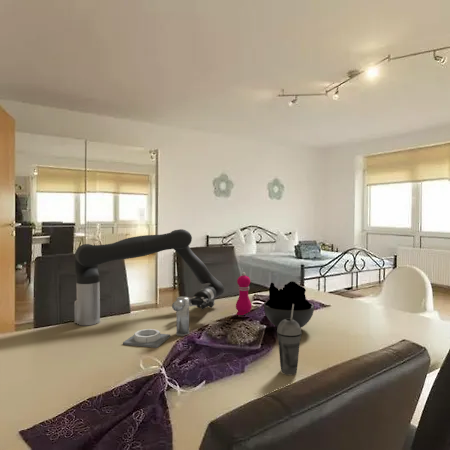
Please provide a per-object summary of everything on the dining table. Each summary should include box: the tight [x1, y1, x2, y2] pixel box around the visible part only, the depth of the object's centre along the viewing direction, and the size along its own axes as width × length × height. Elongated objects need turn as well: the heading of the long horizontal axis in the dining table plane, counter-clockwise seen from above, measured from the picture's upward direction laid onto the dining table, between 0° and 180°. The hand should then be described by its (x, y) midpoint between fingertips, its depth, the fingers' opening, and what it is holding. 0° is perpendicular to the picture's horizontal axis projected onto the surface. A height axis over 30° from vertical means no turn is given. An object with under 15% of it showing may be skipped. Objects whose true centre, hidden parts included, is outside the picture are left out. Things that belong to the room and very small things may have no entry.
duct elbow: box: [171, 296, 190, 337], centre depth 139 cm, size 5×9×14 cm, turn 166°
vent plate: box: [122, 328, 171, 349], centre depth 133 cm, size 13×12×3 cm
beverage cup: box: [276, 304, 303, 376], centre depth 107 cm, size 7×7×20 cm
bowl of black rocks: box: [263, 280, 315, 328], centre depth 147 cm, size 20×20×19 cm
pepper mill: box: [235, 271, 253, 316], centre depth 165 cm, size 7×7×20 cm
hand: (192, 306), depth 151 cm, fingers open, 8 cm apart
